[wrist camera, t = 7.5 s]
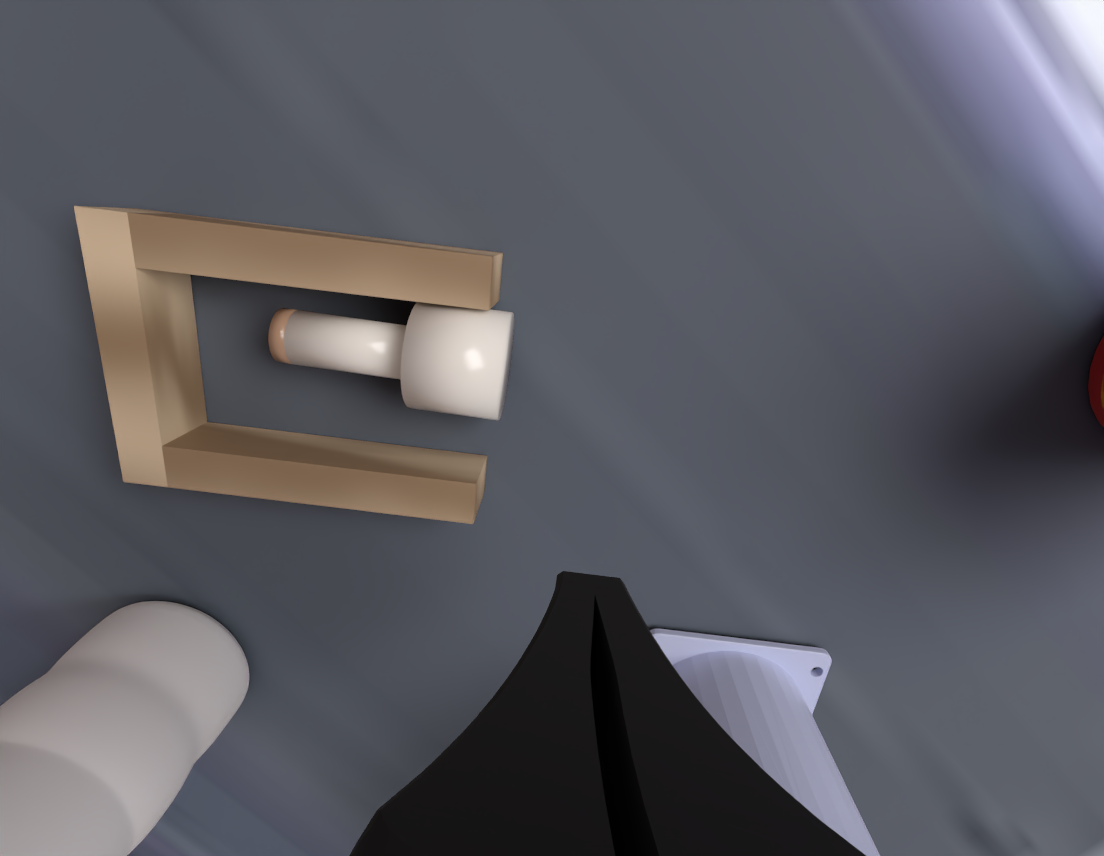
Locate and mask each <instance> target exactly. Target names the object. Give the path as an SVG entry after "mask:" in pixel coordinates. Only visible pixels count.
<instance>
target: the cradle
mask: <svg viewBox="0 0 1104 856" xmlns="http://www.w3.org/2000/svg"><path fill="white" fill-rule="evenodd" d="M74 209H75V215H76V220H77V226H78V231H79V237H80V243H81V248H82V254H83V259H84V265H85V270H86V276H87V282H88V287H89V293H90V298H91V304H92V310H93V315H94V321H95V326H96V332H97V337H98V343H99V349H100V354H101V360H102V365H103V371H104V377H105V382H106V388H107V393H108V399H109V405H110V410H111V416H112V421H113V427H114V432H115V438H116V444H117V449H118V455H119V460H120V466H121V472H122V477H123V482H128V483H137V484H145V485H153V486H162V487H170V488H178V489H187V490H195V491H203V492H211V493H220V494H228V495H236V496H245V497H253V498H261V499H270V500H278V501H286V502H295V503H303V504H311V505H319V506H328V507H336V508H344V509H353V510H361V511H369V512H378V513H386V514H394V515H403V516H411V517H419V518H427V519H436V520H444V521H452V522H461V523H469V524H473V523H474V521H475V518H476V515H477V512H478V509H479V506H480V503H481V500H482V497H483V494H484V489H485V476H486V463H487V456H485V455H477V454H469V453H460V452H452V451H444V450H435V449H427V448H419V447H411V446H402V445H394V444H386V443H377V442H369V441H361V440H353V439H344V438H336V437H328V436H319V435H311V434H303V433H294V432H286V431H278V430H270V429H261V428H253V427H245V426H236V425H228V424H220V423H212V422H207V416H206V407H205V398H204V389H203V381H202V372H201V363H200V354H199V346H198V337H197V328H196V320H195V311H194V302H193V293H192V285H191V276H190V274H191V275H200V276H208V277H216V278H224V279H233V280H241V281H249V282H257V283H266V284H274V285H282V286H290V287H299V288H307V289H315V290H324V291H332V292H340V293H348V294H357V295H365V296H373V297H381V298H390V299H398V300H406V301H415V302H423V303H431V304H439V305H448V306H456V307H464V308H472V309H481V310H490V309H491V308H492V307H493V306H494V305H495V304H496V303H497V302H498V301H499V297H500V284H501V271H502V259H503V253H500V252H491V251H483V250H475V249H467V248H458V247H450V246H442V245H433V244H425V243H417V242H409V241H400V240H392V239H384V238H376V237H367V236H359V235H351V234H343V233H334V232H326V231H318V230H310V229H301V228H293V227H285V226H277V225H268V224H260V223H252V222H244V221H235V220H227V219H219V218H210V217H202V216H194V215H186V214H177V213H169V212H161V211H153V210H144V209H135V208H110V207H86V206H74Z"/></svg>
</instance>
